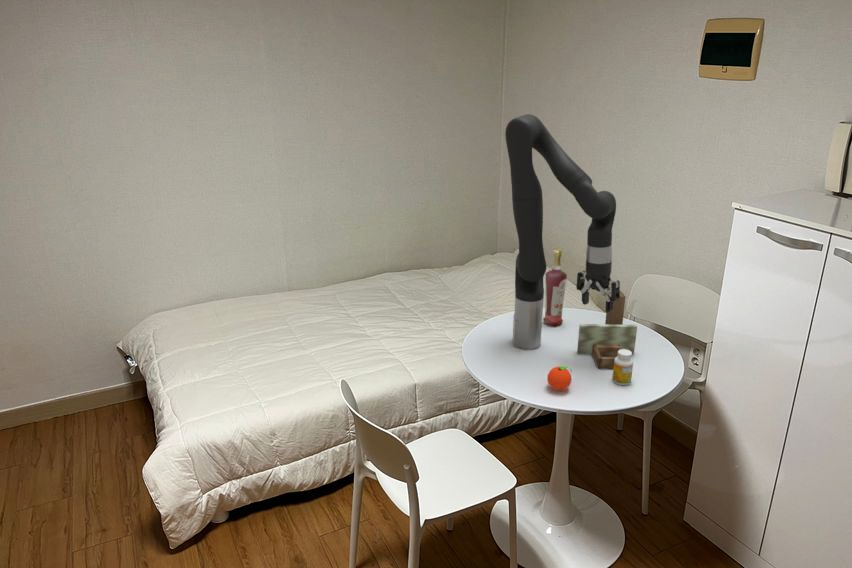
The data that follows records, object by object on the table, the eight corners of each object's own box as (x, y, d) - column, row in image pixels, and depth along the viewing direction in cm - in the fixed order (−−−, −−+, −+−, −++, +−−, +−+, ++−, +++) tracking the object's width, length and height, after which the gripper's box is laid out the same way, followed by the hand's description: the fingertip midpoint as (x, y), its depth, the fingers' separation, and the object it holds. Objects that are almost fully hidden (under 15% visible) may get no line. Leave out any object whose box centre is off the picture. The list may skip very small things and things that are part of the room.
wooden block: (629, 339, 212) (634, 290, 205) (633, 345, 208) (639, 295, 201) (603, 340, 211) (608, 291, 205) (607, 345, 207) (612, 296, 201)
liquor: (554, 329, 220) (559, 254, 210) (538, 322, 225) (542, 249, 215) (567, 323, 224) (573, 250, 214) (551, 317, 229) (556, 245, 219)
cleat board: (583, 368, 193) (586, 339, 189) (577, 351, 204) (579, 324, 200) (642, 369, 192) (645, 340, 188) (632, 352, 203) (636, 324, 199)
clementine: (563, 379, 187) (564, 359, 184) (578, 390, 181) (580, 368, 178) (541, 386, 183) (543, 365, 181) (556, 397, 177) (558, 375, 175)
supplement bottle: (609, 377, 188) (612, 348, 184) (626, 376, 188) (630, 347, 185) (616, 386, 183) (619, 356, 179) (633, 385, 183) (637, 355, 180)
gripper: (571, 256, 188) (570, 305, 194) (611, 267, 178) (609, 318, 184) (587, 250, 193) (585, 298, 199) (626, 260, 182) (624, 310, 188)
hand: (597, 307), depth 191 cm, fingers open, 8 cm apart
